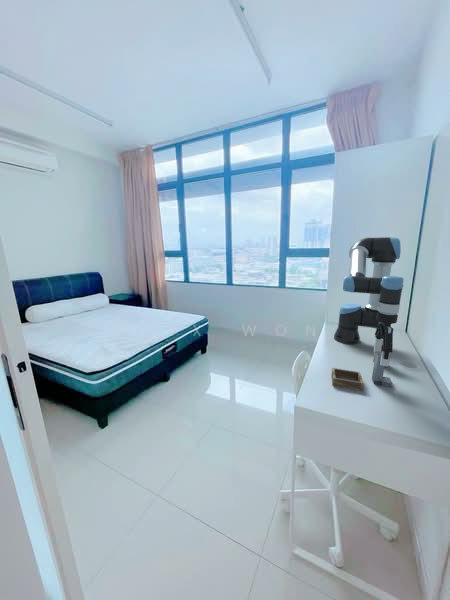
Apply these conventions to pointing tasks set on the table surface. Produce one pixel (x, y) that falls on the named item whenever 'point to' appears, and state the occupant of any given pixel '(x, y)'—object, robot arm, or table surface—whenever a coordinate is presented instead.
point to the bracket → (380, 372)
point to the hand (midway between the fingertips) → (380, 358)
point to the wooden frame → (347, 379)
